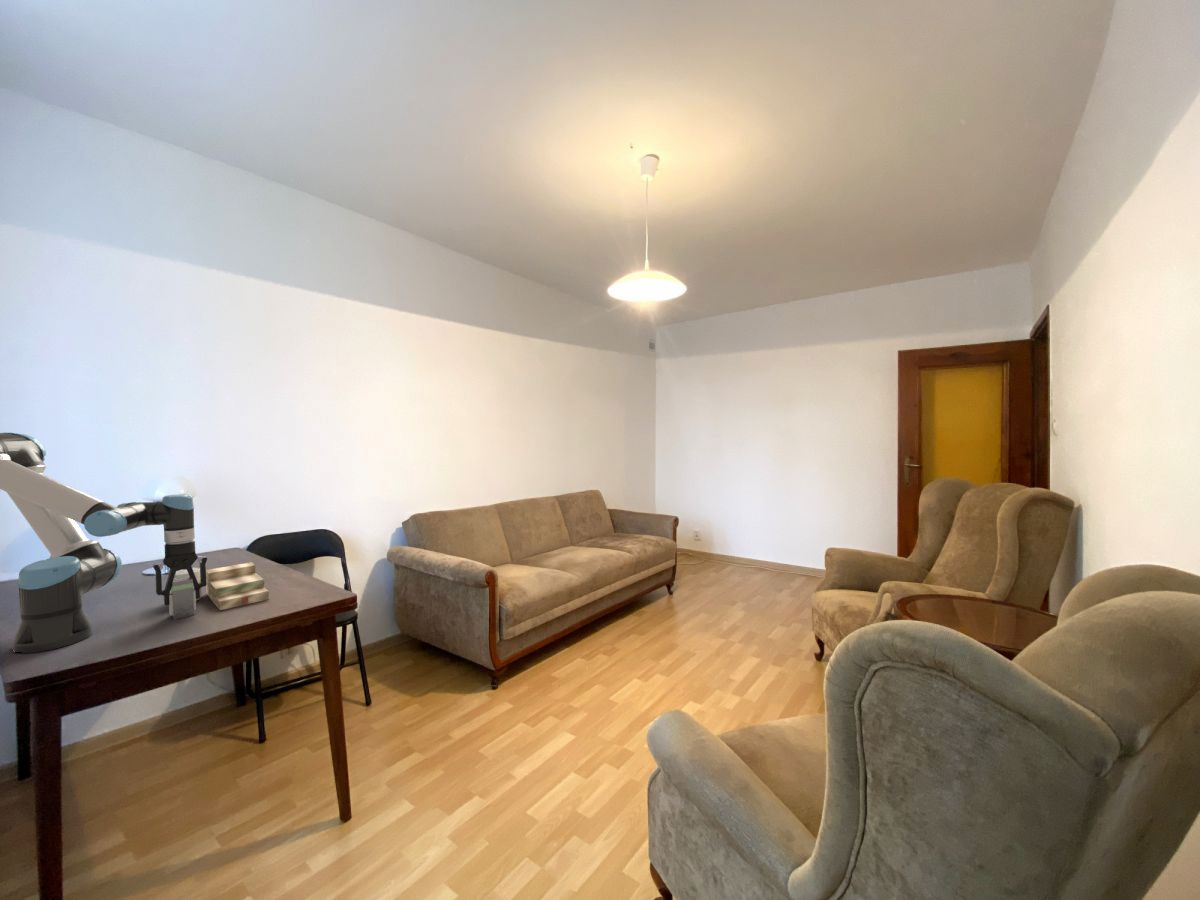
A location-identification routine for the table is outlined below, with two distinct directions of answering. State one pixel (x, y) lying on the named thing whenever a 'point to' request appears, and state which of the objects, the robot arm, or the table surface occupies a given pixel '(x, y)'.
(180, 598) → the column
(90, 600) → the table surface
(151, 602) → the table surface
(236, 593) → the stepped stand
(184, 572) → the mug
